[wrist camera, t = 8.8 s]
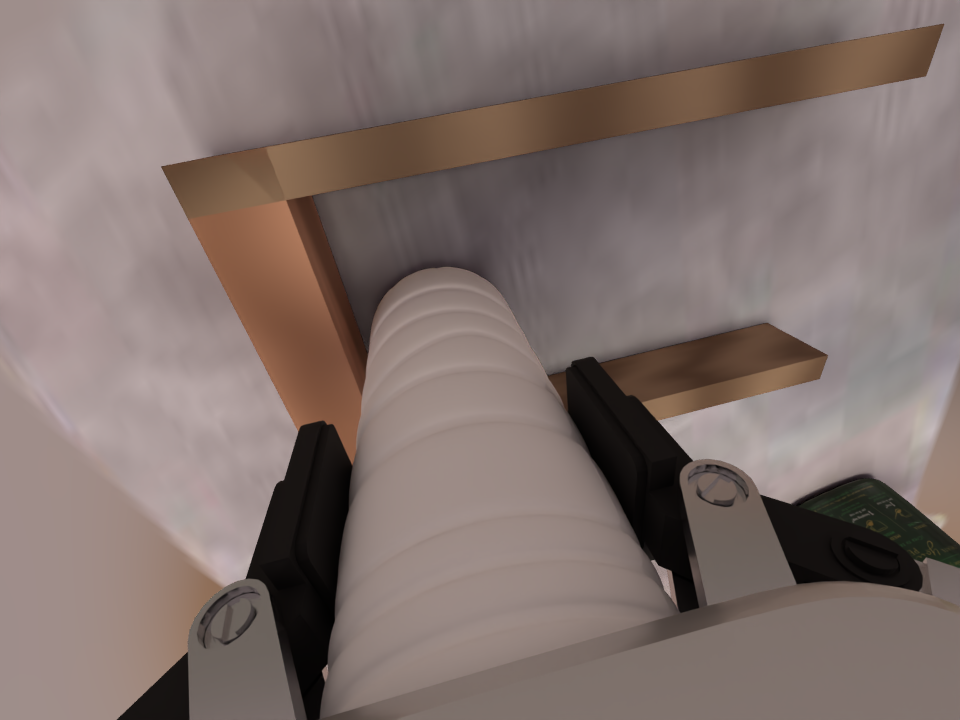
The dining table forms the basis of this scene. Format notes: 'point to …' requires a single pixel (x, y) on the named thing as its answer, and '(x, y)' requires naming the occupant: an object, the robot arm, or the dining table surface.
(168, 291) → the dining table surface
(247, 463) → the dining table surface
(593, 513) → the water bottle
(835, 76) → the channel
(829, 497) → the coffee jar
